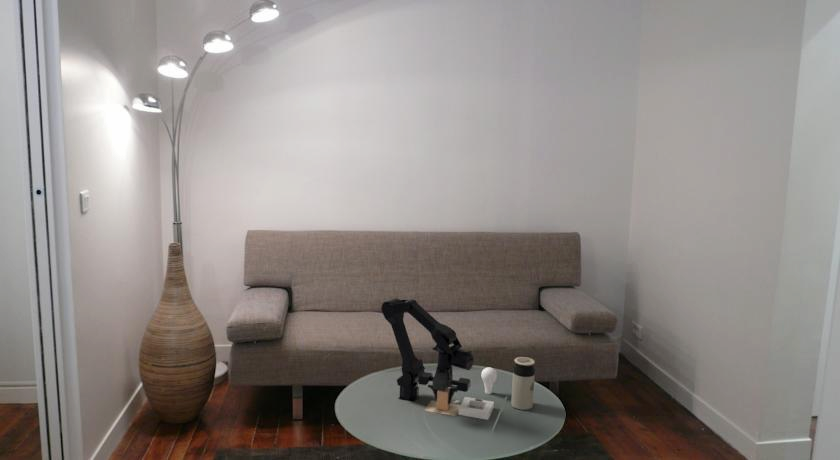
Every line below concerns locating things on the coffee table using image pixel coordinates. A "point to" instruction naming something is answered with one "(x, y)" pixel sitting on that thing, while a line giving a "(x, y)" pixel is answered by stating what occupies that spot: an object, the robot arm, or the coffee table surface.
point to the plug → (443, 399)
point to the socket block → (476, 408)
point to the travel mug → (523, 383)
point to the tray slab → (451, 410)
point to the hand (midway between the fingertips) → (443, 403)
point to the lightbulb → (488, 379)
